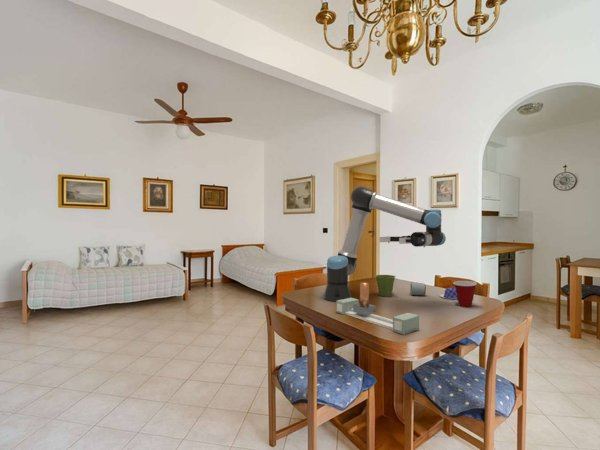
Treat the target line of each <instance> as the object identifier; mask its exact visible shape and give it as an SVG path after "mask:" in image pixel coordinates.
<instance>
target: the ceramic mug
mask: <svg viewBox="0 0 600 450" xmlns="http://www.w3.org/2000/svg"><path fill="white" fill-rule="evenodd" d="M426 290H427V285H426V284H425V283H423V282H417V281H416V282H415V281H410V295H411V296H421V297H423V296H425V295H426Z"/></svg>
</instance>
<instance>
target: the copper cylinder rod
mask: <svg viewBox="0 0 600 450" xmlns="http://www.w3.org/2000/svg"><path fill="white" fill-rule="evenodd" d="M376 309H377V307H376V305H374V304H371V303H370V283H369V282H368V281H367V282H365V281H364V282H363V281H362V282H359V304H355V305H353V312H357V313H360V314H363V315H368V314H374V313H377V311H376Z"/></svg>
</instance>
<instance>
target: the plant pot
mask: <svg viewBox="0 0 600 450" xmlns="http://www.w3.org/2000/svg"><path fill="white" fill-rule="evenodd" d="M374 277H375V280H376V284H377V290H378V295H379V296H381V297H389V296H390V297H392V296H393V295H392V294H393V288H394V282H395V279H396V276H395V275H392V274H376V275H374Z"/></svg>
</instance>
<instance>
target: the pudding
mask: <svg viewBox="0 0 600 450" xmlns="http://www.w3.org/2000/svg"><path fill="white" fill-rule="evenodd" d="M439 297H440V298H444V299H446V300H447V299H448V300H458V298H457V293H456V289H455V287H446V288H445V290H444V293H442V294H439Z"/></svg>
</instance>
